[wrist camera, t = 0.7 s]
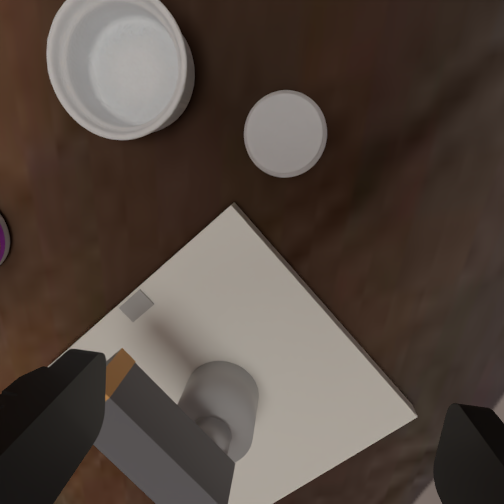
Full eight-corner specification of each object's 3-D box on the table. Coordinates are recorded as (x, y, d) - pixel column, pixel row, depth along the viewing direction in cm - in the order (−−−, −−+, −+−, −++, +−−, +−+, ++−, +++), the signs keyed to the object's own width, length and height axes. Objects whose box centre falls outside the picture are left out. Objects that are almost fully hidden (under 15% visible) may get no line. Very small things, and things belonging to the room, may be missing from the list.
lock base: (234, 201, 30) (219, 217, 24) (412, 404, 33) (436, 461, 27) (52, 362, 36) (5, 405, 30) (218, 522, 39) (204, 590, 33)
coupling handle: (240, 438, 28) (226, 512, 22) (208, 459, 29) (188, 535, 23) (135, 331, 27) (93, 382, 21) (105, 357, 27) (57, 412, 22)
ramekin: (128, 162, 30) (101, 166, 26) (57, 53, 28) (16, 38, 24) (227, 96, 28) (214, 88, 24) (156, -26, 26) (130, -57, 22)
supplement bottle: (323, 167, 29) (333, 178, 20) (257, 173, 29) (242, 187, 21) (319, 95, 27) (328, 77, 19) (250, 104, 28) (232, 90, 20)
